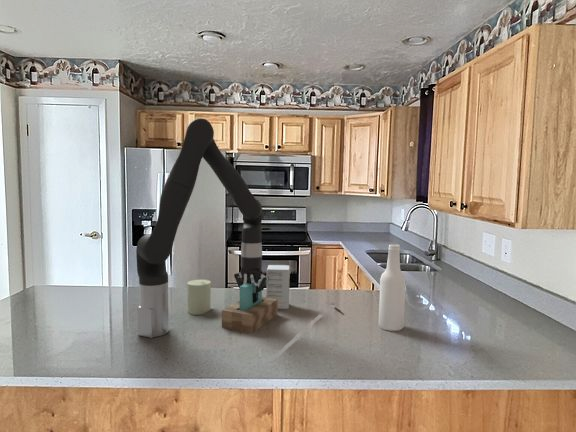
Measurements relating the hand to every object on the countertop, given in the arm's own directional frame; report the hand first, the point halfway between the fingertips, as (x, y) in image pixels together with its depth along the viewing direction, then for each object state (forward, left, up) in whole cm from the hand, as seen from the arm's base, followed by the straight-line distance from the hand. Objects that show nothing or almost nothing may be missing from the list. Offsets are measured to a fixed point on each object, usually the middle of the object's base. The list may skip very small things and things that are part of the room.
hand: (251, 301), depth 145 cm
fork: (+30, -23, -9) cm, 39 cm away
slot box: (0, 0, -8) cm, 8 cm away
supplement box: (+21, -1, -8) cm, 23 cm away
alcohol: (+19, -47, -8) cm, 51 cm away
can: (+3, +25, -8) cm, 27 cm away
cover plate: (0, 0, -7) cm, 7 cm away
